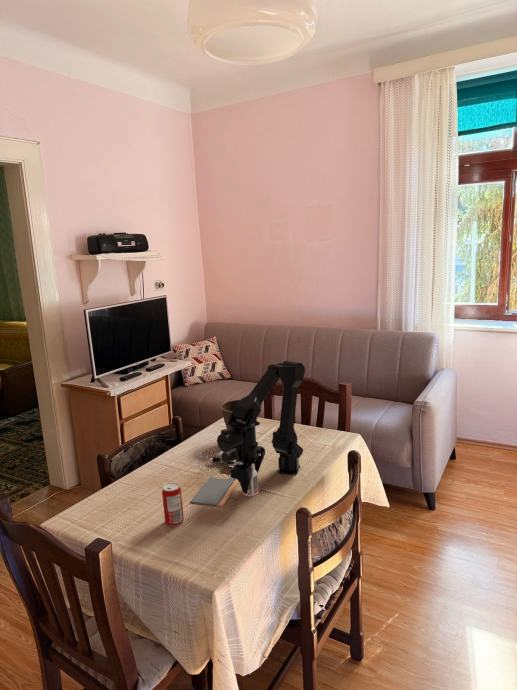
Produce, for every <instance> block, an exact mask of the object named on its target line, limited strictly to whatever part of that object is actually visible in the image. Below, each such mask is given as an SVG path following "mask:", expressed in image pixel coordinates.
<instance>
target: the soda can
mask: <svg viewBox="0 0 517 690" xmlns="http://www.w3.org/2000/svg"><path fill="white" fill-rule="evenodd" d="M161 494H162V504H163V515H164V523H165V524H166V526H168V527H178V526H180V525H182V524H183V523H184V519H185V518H184V517H185V516H184V507H183V499H182V498H183V497H182V488H181V486H180V483H179V482H176V481H172V482H167V483H165V484H163V486H162V491H161Z"/></svg>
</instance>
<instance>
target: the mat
mask: <svg viewBox="0 0 517 690" xmlns="http://www.w3.org/2000/svg"><path fill="white" fill-rule="evenodd" d="M233 481H234V482H235V481H236V479H234V478H229V479H217V478H213V477H208V479H207V480H206V482H204V484H203V485H202V486H201V487H200V489H198V491H197V492H196V493H195V494H194V496H193V497H191V498H192V499H191V500H190V501H189V503H190V504H196V505H197V504H198V505H206V506H213V507H217V505H219V504H220V502H221V501H222V499H223V498H224V497H225V495H226V494H227V492H228V491H229V489H230V488H231V487H232V485H233V484H234V482H233Z"/></svg>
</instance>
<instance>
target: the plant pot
mask: <svg viewBox="0 0 517 690" xmlns="http://www.w3.org/2000/svg"><path fill="white" fill-rule="evenodd" d="M240 400H241V399H235V400H230V401H226V402H224V403H222V404H221V406H220V409H221V414H222V418H223V420H224V425H225V427H226V428H225V429H227V428H229V427H231V426H228V425H227V424H228V421H229V419H230V416H231V414H232V411H233V408H234V406H235V405H236V404H237V403H238V402H239V401H240ZM257 419H258V418H257ZM257 419H256V420H257ZM236 421H237V422H240V423H244V422H243V421H240V420H236ZM257 421H258V420H257Z"/></svg>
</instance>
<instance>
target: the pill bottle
mask: <svg viewBox="0 0 517 690" xmlns="http://www.w3.org/2000/svg"><path fill="white" fill-rule="evenodd" d="M251 468H252V474H253V475H252V479H251V482H250V485H249V488H248V492H247V493H244V492H243V490H242V489H241V493H242V495H244V496H245V497H255V496H257V495H258V494H259V479H258V474H257V471H256V470H255V465H254V464H252V465H251Z"/></svg>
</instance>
